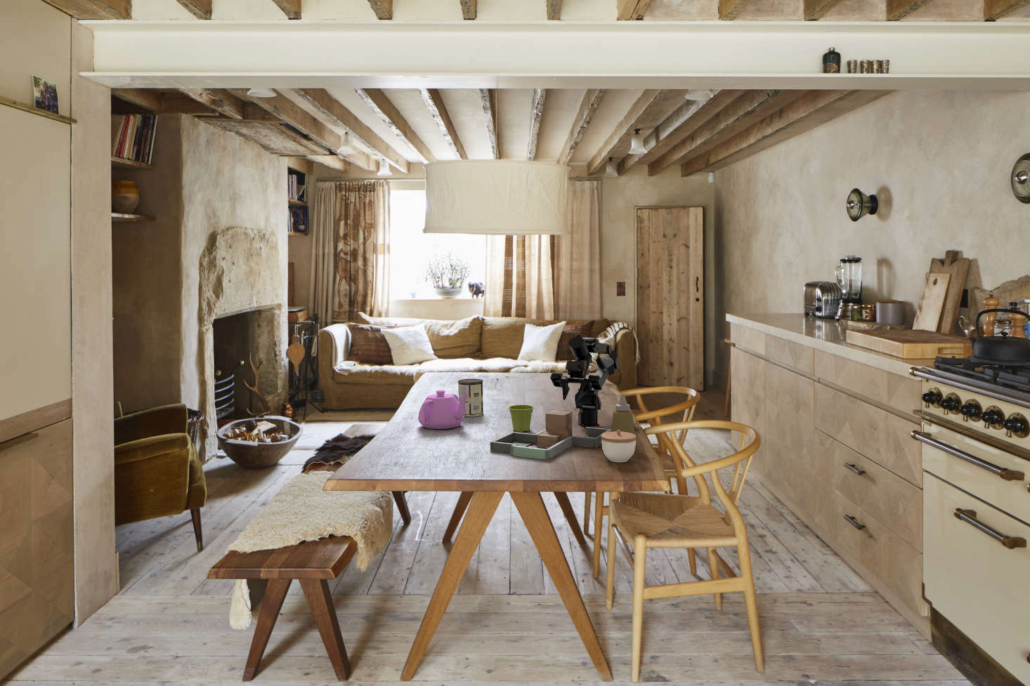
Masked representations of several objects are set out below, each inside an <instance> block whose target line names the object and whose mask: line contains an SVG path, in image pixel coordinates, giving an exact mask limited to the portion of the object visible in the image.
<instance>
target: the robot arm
mask: <svg viewBox="0 0 1030 686" xmlns="http://www.w3.org/2000/svg"><path fill="white" fill-rule="evenodd" d="M568 346H569V348H570V350H571V353H572V355H573V357H575V360H566V362H565V370H566V371H567V375H568V376H567V375H564V373H563V372H552V373H551V374H550V377H549V379H550V380H551V384H552V385H553V387H555V388H561V390H562V400H563V401H565V400H566V399H567V398H568V394H569V392H570V389H571V387H570V386H569V384H574V385H575V384H576V385H580V386H579V388H578V389H577V391H576V393H575V394H574V402H575V403H574V404H575V409H577V410H579V412H578V413H577V416H578V419H577V424H578V423H579V424H578V425H580V424H581V426H582V425H583V426H582V427H594V426H595V425H597V426H600V423H598V421H599V419H598V416H599V415H598V412H599V410H600V411H601V409H602V401H601V398H600V396H599V392H600V391H602V390H603V386H604V384H605V382H606V381H607V380H608V378H609V377H610V376H612V375H613V376H614V375H615V374H616V373H617V372H618V370H619V369H620V360H619V359H620V358H619V356H618V353H616V352H615V351H614V350H613V347H612V345H611V344H609V343H603V342H600V340H599V339H598V338H596V337H583V334H579V333H578V334H576V336H573V337H572V338H570V340H569V341H568ZM592 354H597V357H596V359H595V362H596V366H597V370H596V372H595V373H594V374H589V373H590V372H589V369H590V366H591V364H593V356H592ZM600 355H608V356H609V357H603V356H602V357H601V356H600ZM595 427H596V426H595Z"/></svg>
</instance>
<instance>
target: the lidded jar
mask: <svg viewBox="0 0 1030 686" xmlns="http://www.w3.org/2000/svg"><path fill="white" fill-rule="evenodd" d="M601 439H602V445H601V448H602V452H603V454H604V456H605V457H606V459H608V461H609V460H610V461H609V462H612V463H613V462H614V463H626V462H628V461H629V460H630V459H631V458H632V457H633V455H634V454H635V451H636V444H637V443H636V441H637V435H636V434H635V433H634V434H632V433H628V432H620V430H617V432H606V433H603V434H602V435H601Z"/></svg>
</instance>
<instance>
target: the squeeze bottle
mask: <svg viewBox="0 0 1030 686" xmlns="http://www.w3.org/2000/svg"><path fill="white" fill-rule="evenodd" d="M626 398H627V397H626V393H621V394H620V397H619V400H618V401H619V403H616V404H615V410H614V411H613V412H612V418H611V428H610V429H611V432H617V430H620V432H628V433H632V434H635V426H634V425H635V423H634V414H633V412H632V410H631V409H630V408H631V405H630V404H628V403H627V399H626Z"/></svg>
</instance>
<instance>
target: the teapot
mask: <svg viewBox="0 0 1030 686" xmlns="http://www.w3.org/2000/svg"><path fill="white" fill-rule="evenodd" d="M467 396H468V395H465V396H462V397H461V398H460V402H459V395H457V394H454V393H450V394H449V393H446V390H445V389H439V390H436V391H435V393H434V394H429V395H427V396H426V397H425V399H424V401H423V402H422V404H421V406H420V408H419V411H418V418H417V420H418V422H419V423H420V425H421V426H422V427H423V428H426V429H432V430H440V429H444V430H447V429H453V428H456V427H457V428H458V427H459V426H460V425H461V424H462V423H463V421H464V419H465V416H464V415H465V412H466V407H465V399H466V397H467Z"/></svg>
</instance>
